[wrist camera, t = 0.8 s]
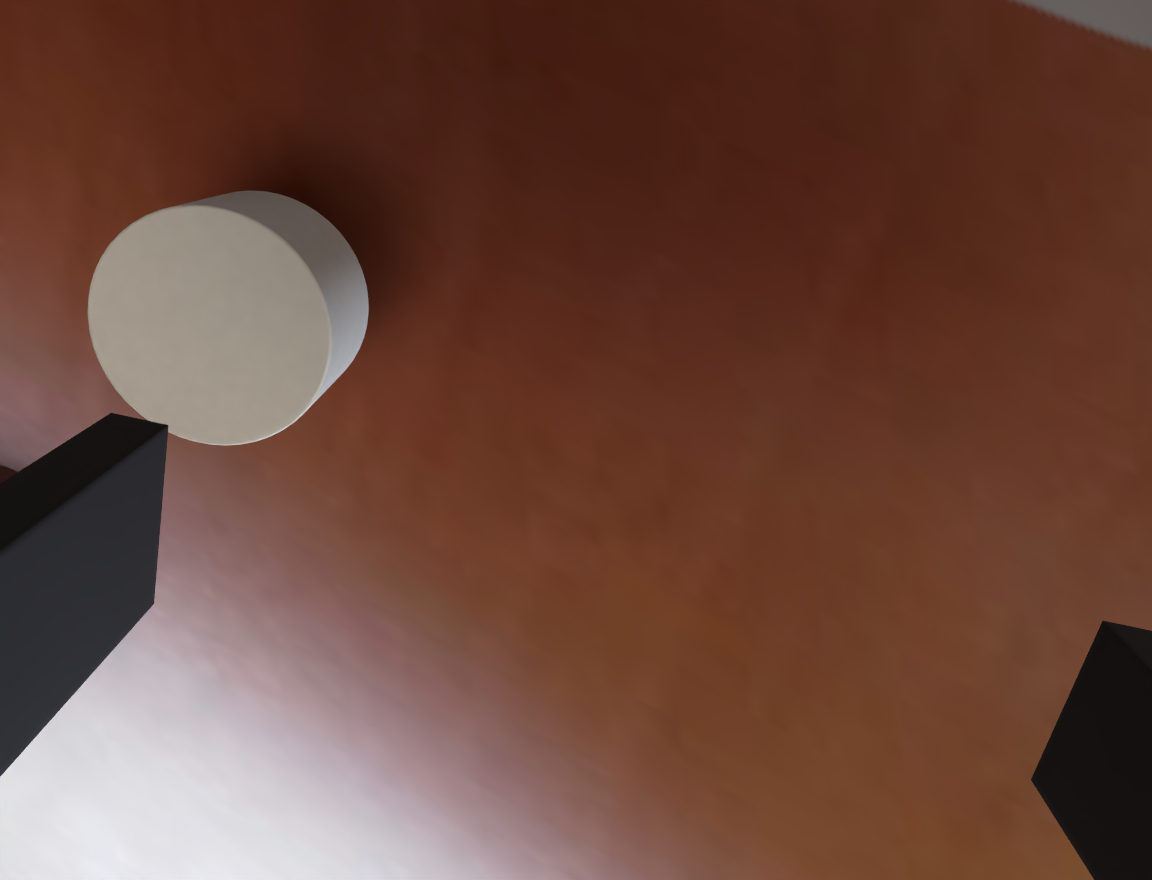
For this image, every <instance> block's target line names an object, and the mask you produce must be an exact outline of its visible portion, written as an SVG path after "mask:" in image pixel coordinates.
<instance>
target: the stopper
mask: <svg viewBox="0 0 1152 880" xmlns="http://www.w3.org/2000/svg"><path fill="white" fill-rule="evenodd" d="M368 313H369V306H368V293H367V286H366V282H365V278H364V275H363V271H362V269H361V266H360V264H359V262H358V259H357V257H356V255H355V254H354V252H353V250H352V248H351V247H350V245H349V244H348V242H347V241H346V240H345V238H344V237H343V236H342V234H341V233H340V232H339V231H338V230H337V229H336V228H335V227H334V226H333V225H332V224H331V223H330V222H329V221H328V220H327V219H326V218H324V217H323V216H322V215H321V214H319V213H318V212H317V211H315V210H313V209H312V208H310V207H309V206H307V205H305V204H303V203H301V202H299V201H297V200H295V199H293V198H290V197H287V196H283V195H280V194H276V193H271V192H266V191H250V190H249V191H238V192H232V193H228V194H223V195H219V196H215V197H211V198H207V199H202V200H198V201H194V202H190V203H186V204H181V205H177V206H173V207H169V208H165V209H160V210H158V211H155V212H153V213H150V214H148V215H145V216H144V217H142V218H140V219H138V220H137V221H135V222H133V223H132V224H130V225H129V226H128V227H127V228H125V229H124V230H123V231H122V232H120V233H119V235H118V236H117V237H116V238H115V239H114V240H113V241H112V242H111V243H110V244H109V246H108V247H107V249H106V250H105V252H104V253H103V255H102V256H101V258H100V261H99V263H98V265H97V267H96V269H95V272H94V275H93V278H92V282H91V285H90V291H89V298H88V322H89V330H90V335H91V339H92V343H93V347H94V350H95V352H96V355H97V358H98V360H99V363H100V365H101V366H102V368H103V370H104V372H105V374H106V376H107V378H108V379H109V380H110V382H111V383H112V385H113V386H114V388H115V389H116V390H117V392H118V393H119V394H120V395H121V396H122V397H123V399H124V400H125V401H126V402H127V403H128V404H129V405H130V406H131V407H132V408H134V409H135V410H136V411H137V412H138V413H139V414H140V415H142V416H143V417H144V418H146V419H147V420H149V421H151V422H156V423H161V424H166V425H168V432H170V433H172V434H174V435H177V436H179V437H181V438H185V439H188V440H191V441H195V442H200V443H206V444H211V445H238V444H246V443H251V442H255V441H259V440H262V439H265V438H267V437H270V436H272V435H274V434H276V433H278V432H280V431H282V430H284V429H285V428H287V427H288V426H290V425H291V424H292V423H294V422H295V421H296V420H297V419H298V418H299V417H300V416H302V415H303V414H304V413H305V412H306V411H307V410H308V409H309V408H310V407H311V406H312V404H313V403H314V402H315V401H316V400H317V399H318V398H319V397H320V396H321V395H322V394H323V393H324V392H325V391H326V390H327V389H328V388H329V387H330V386H331V385H332V384H333V383H334V382H335V381H336V380H337V378H338V377H339V376H340V375H341V374H342V373H343V372H344V371H345V370H346V369H347V367H348V366H349V365H350V364H351V362H352V361H353V359H354V358H355V356H356V354H357V353H358V351H359V349H360V346H361V344H362V341H363V339H364V336H365V332H366V328H367V322H368Z"/></svg>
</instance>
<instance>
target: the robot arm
mask: <svg viewBox="0 0 1152 880" xmlns="http://www.w3.org/2000/svg"><path fill="white" fill-rule="evenodd" d="M167 436H168V425H166V424H161V423H156V422H151V421H147V420H142V419H137V418H132V417H128V416H123V415H118V414H113V413H110V414H109V415H107V416H106V417H104V418H103V419H101V420H99V421H98V422H96V423H95V424H93V425H92V426H90V427H88V428H87V429H85V430H84V431H82V432H81V433H79V434H77V435H76V436H74V437H73V438H71V439H70V440H68V441H66V442H65V443H63V444H62V445H60V446H59V447H57V448H55V449H54V450H52V451H51V452H49V453H48V454H46V455H45V456H43V457H41V458H40V459H38V460H37V461H35V462H34V463H32V464H30V465H29V466H27V467H26V468H24V469H23V470H21V471H19V472H18V473H16V474H15V475H13V476H12V477H10V478H8V479H7V480H5V481H4V482H2V483H1V484H0V776H1V775H2V774H3V773H4V772H5V771H6V770H7V768H8V767H9V766H10V765H11V764H12V763H13V762H14V761H15V759H16V758H17V757H18V756H19V755H20V754H21V753H22V752H23V750H24V749H25V748H26V747H27V746H28V745H29V744H30V743H31V741H32V740H33V739H34V738H35V737H36V736H37V735H38V734H39V732H40V731H41V730H42V729H43V728H44V727H45V726H46V725H47V723H48V722H49V721H50V720H51V719H52V718H53V717H54V716H55V714H56V713H57V712H58V711H59V710H60V709H61V708H62V707H63V705H64V704H65V703H66V702H67V701H68V700H69V699H70V698H71V696H72V695H73V694H74V693H75V692H76V691H77V690H78V689H79V687H80V686H81V685H82V684H83V683H84V682H85V681H86V680H87V678H88V677H89V676H90V675H91V674H92V673H93V672H94V671H95V669H96V668H97V667H98V666H99V665H100V664H101V663H102V662H103V660H104V659H105V658H106V657H107V656H108V655H109V654H110V653H111V651H112V650H113V649H114V648H115V647H116V646H117V645H118V644H119V642H120V641H121V640H122V639H123V638H124V637H125V636H126V635H127V633H128V632H129V631H130V630H131V629H132V628H133V627H134V626H135V624H136V623H137V622H138V621H139V620H140V619H141V618H142V617H143V615H144V614H145V613H146V612H147V611H148V610H149V609H150V608H151V606H152V605H153V604H154V595H155V583H156V571H157V558H158V546H159V534H160V522H161V509H162V497H163V485H164V473H165V460H166V448H167ZM1031 780H1032V782H1033V784H1034V785H1035V787H1036V788H1037V790H1038V791H1039V793H1040V795H1041V796H1042V798H1043V799H1044V801H1045V803H1046V804H1047V806H1048V807H1049V809H1050V810H1051V812H1052V814H1053V815H1054V817H1055V818H1056V820H1057V821H1058V823H1059V825H1060V826H1061V828H1062V829H1063V831H1064V833H1065V834H1066V836H1067V837H1068V839H1069V840H1070V842H1071V844H1072V845H1073V847H1074V848H1075V850H1076V851H1077V853H1078V855H1079V856H1080V858H1081V859H1082V861H1083V863H1084V864H1085V866H1086V867H1087V869H1088V870H1089V872H1090V874H1091V875H1092V877H1093V878H1094V880H1152V631H1149V630H1145V629H1140V628H1135V627H1130V626H1126V625H1121V624H1116V623H1111V622H1106V621H1102V624H1101V626H1100V628H1099V630H1098V632H1097V635H1096V637H1095V639H1094V641H1093V644H1092V646H1091V648H1090V650H1089V652H1088V655H1087V657H1086V659H1085V661H1084V663H1083V666H1082V668H1081V670H1080V672H1079V675H1078V677H1077V679H1076V681H1075V683H1074V686H1073V688H1072V690H1071V692H1070V694H1069V697H1068V699H1067V701H1066V703H1065V706H1064V708H1063V710H1062V712H1061V714H1060V717H1059V719H1058V721H1057V723H1056V726H1055V728H1054V730H1053V732H1052V734H1051V737H1050V739H1049V741H1048V743H1047V745H1046V748H1045V750H1044V752H1043V754H1042V757H1041V759H1040V761H1039V763H1038V765H1037V768H1036V770H1035V772H1034V774H1033V777H1032V779H1031Z"/></svg>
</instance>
